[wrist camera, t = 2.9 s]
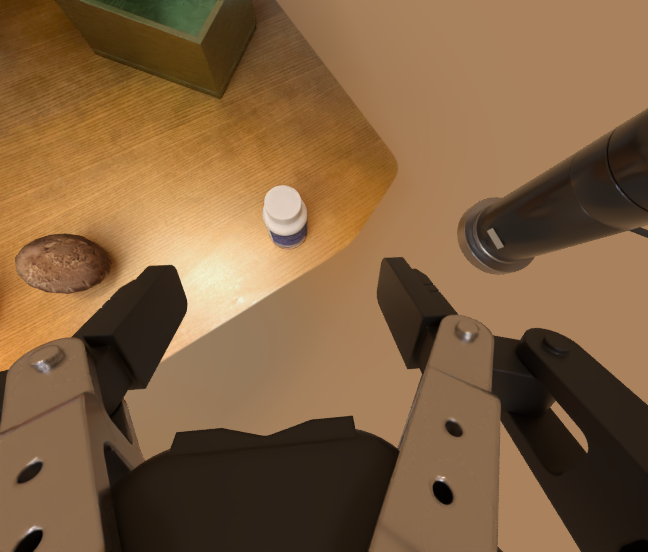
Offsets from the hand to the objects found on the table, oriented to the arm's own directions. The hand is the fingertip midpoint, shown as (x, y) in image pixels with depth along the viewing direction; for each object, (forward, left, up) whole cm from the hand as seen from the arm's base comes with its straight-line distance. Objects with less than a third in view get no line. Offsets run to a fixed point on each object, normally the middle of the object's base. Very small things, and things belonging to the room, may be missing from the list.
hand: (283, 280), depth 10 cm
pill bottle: (0, -11, -24) cm, 27 cm away
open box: (+13, -44, -24) cm, 52 cm away
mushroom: (+26, -9, -24) cm, 37 cm away
